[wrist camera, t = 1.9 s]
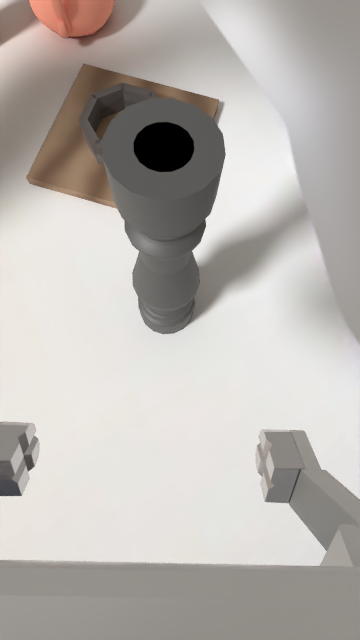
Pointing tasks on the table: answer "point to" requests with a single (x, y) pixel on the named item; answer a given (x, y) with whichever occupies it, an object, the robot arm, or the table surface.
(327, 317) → the table surface
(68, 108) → the candle dish
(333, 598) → the robot arm
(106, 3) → the sugar bowl
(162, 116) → the candle holder
